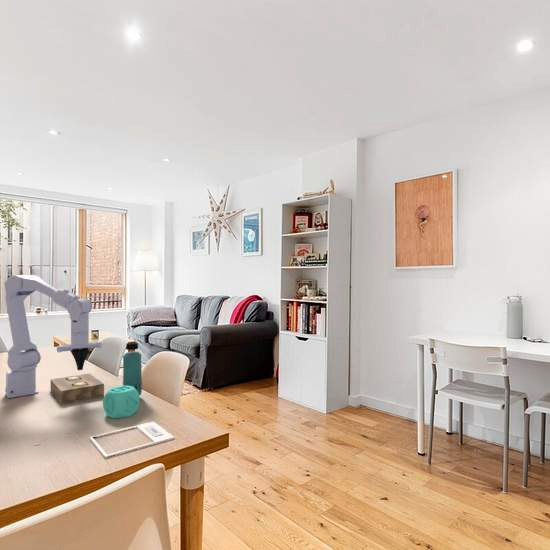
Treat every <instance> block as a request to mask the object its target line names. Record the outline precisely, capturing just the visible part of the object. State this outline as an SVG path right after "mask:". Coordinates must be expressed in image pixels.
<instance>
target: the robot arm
mask: <svg viewBox="0 0 550 550" xmlns="http://www.w3.org/2000/svg"><path fill="white" fill-rule="evenodd" d="M4 290H5V298H4V299H5V305H6V308H7V309H6V310H7V316H8V320H9V321H8V322H9V327H10V333H11V337H12V343H13V344H12V347H10V349H9V350H8V351H7V354H8V356H7V361H6V362H7V366H8V368H9V369H10V371H9V370H8V371H6V372H5V389H4V391H5V392H4V393H5V394H6V396H7V398H8V399H11V398H17V397H22V396H29V395H34V394H39V391H38V389H37V386H36V385H37V384H36V383H37V382H36V381H37V379H36V377H37V375H36V374H37V368H38V364H40V363H41V358H42V356H41V353H40V352H39V350H38V347H37V345H36V344H35V343H33V342H32V341H31V336H30V335H31V334H30V332H29V331H30V330H29V324H28V319H27V313H26V308H25V302H24V301H25V300H26V298H28V297H29V296H30V295H31V294H33V293H35V292H38V293H41V294H43V295H45V296H48V297H49V298H52V302H53V303H54V304H56V305H58V306H60V307H62V308H63V309H65V310H66V311H67V313H68V314H69V319H70V344H69V343H68V344H65V345H57V346H56V351H57V353H62V352H70V353H71V355H72V357H73V359H74V361H75V365H76V369H77V370H78V371H83V370H84V365H85V362H86V359H87V357H88V355H89V353H90V349H96V348H99V349H100V348H101V349H102V347H103V345H102V344H103V343H102V341H95V342H93V341H92V342H90V341H89V340H90V339H89V338H90V337H89V333H90V332H89V331H90V330H89V327H90V325H89V322H90V321H89V319H90V317H89V313H90V312H91V311H92V310H93V303H92V302H91V300H89V299H88V298H87V297H84V298H81V297H80V296H79V295H78V294H77V295H75V294H73V293H71V292H70V290H69V289H68V288H65V289H64V288H63V289H62V288H61V289H60V288H59V289H58V288H56V287H54V286H52V285H51V284H49V283H48V282H46V281H44V280H42V278H41V277H39V276H37V275H34V274H29V275H27V274H26V275H22V274H21V275H20V274H19V275H16V274H12V275H10V276H9V277H7V279H6V280H5V282H4Z"/></svg>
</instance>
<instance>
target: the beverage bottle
mask: <svg viewBox="0 0 550 550" xmlns="http://www.w3.org/2000/svg"><path fill="white" fill-rule="evenodd" d="M125 345H126V346H125V349H126V351H127V352H126V353H124V354H123V356H122V371H123V372H122V386H132V387H134V388H135V389H136V390H137V392H138V394H139V396H141V395H142V392H143V380H142V377H143V376H142V368H143V366H142V353H140V352H139V351H137V350H138V349H139V343H138V342H133V341H132V342H128V343H126V344H125ZM128 350H130V351H128ZM131 350H134V351H131ZM135 350H136V351H135Z"/></svg>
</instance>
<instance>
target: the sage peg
mask: <svg viewBox="0 0 550 550" xmlns="http://www.w3.org/2000/svg"><path fill="white" fill-rule="evenodd" d="M73 380H79V377H71V378H68V381H73Z"/></svg>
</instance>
